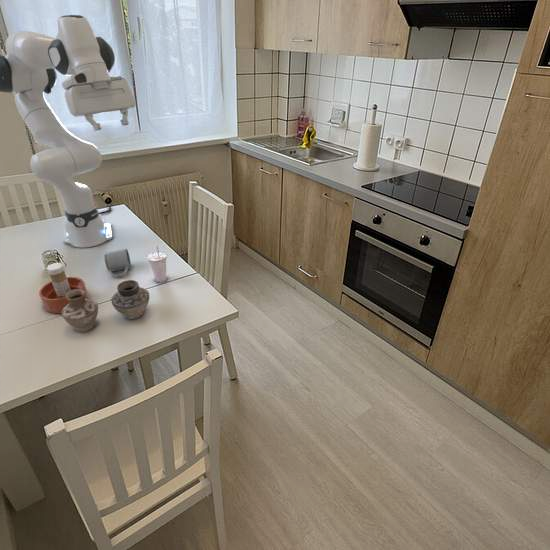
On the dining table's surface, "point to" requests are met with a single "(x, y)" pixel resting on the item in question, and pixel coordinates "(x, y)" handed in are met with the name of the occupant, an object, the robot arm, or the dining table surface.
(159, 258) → the smoothie
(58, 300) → the bowl
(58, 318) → the dining table surface
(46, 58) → the robot arm
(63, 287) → the sprinkles bottle
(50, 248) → the dining table surface
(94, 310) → the pottery
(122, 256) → the ceramic mug
